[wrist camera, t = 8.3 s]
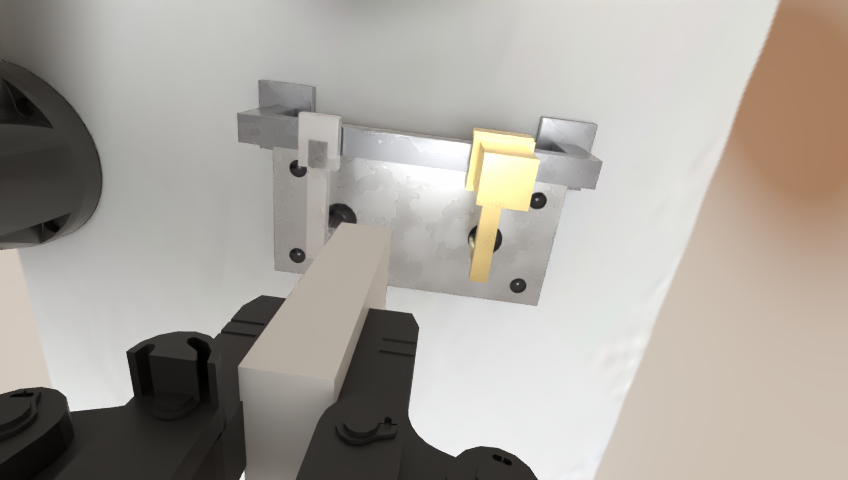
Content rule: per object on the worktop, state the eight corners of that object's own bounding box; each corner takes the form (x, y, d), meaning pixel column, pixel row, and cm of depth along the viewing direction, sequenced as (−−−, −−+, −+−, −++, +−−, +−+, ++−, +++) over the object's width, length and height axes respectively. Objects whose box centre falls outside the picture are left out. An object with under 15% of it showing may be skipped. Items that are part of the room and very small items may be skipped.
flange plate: (278, 265, 39) (274, 270, 38) (277, 141, 35) (272, 143, 34) (534, 300, 39) (537, 306, 38) (565, 179, 34) (568, 183, 33)
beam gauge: (265, 210, 37) (218, 247, 29) (263, 80, 33) (207, 84, 25) (560, 250, 37) (588, 297, 29) (594, 123, 33) (635, 141, 25)
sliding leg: (451, 241, 35) (451, 308, 26) (470, 119, 32) (478, 143, 22) (495, 247, 35) (511, 316, 26) (519, 125, 32) (549, 153, 22)
